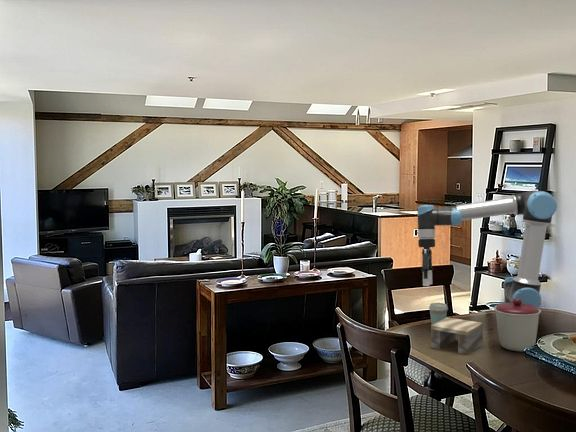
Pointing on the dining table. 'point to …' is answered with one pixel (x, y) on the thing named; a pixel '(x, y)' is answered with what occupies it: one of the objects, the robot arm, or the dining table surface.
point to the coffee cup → (437, 312)
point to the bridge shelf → (466, 330)
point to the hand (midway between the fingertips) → (427, 285)
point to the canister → (517, 324)
